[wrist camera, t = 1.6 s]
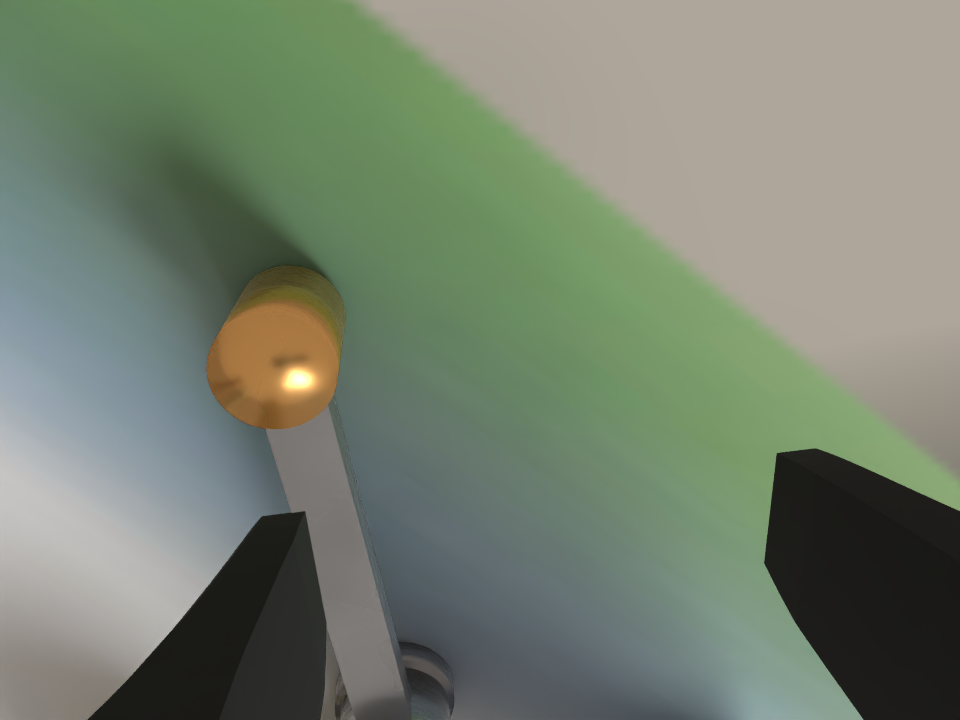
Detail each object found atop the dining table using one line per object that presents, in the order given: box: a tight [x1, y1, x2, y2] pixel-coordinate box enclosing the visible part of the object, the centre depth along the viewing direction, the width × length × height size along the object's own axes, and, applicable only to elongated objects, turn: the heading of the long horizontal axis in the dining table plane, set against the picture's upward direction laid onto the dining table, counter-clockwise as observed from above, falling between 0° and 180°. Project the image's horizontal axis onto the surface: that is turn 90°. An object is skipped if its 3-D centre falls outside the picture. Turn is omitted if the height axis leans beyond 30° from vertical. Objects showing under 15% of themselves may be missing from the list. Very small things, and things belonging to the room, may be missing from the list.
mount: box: [335, 643, 454, 720], centre depth 25 cm, size 4×4×1 cm
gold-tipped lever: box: [207, 265, 450, 720], centre depth 21 cm, size 17×4×4 cm, turn 8°
